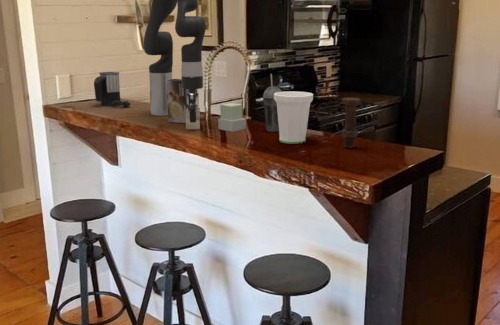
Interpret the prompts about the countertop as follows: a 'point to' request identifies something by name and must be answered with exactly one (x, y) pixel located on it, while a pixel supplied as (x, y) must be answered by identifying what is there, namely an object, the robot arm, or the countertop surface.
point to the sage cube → (231, 111)
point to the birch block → (193, 124)
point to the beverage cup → (271, 108)
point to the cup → (293, 115)
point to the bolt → (350, 121)
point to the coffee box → (176, 101)
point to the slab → (232, 124)
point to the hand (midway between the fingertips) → (193, 120)
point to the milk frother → (108, 89)
